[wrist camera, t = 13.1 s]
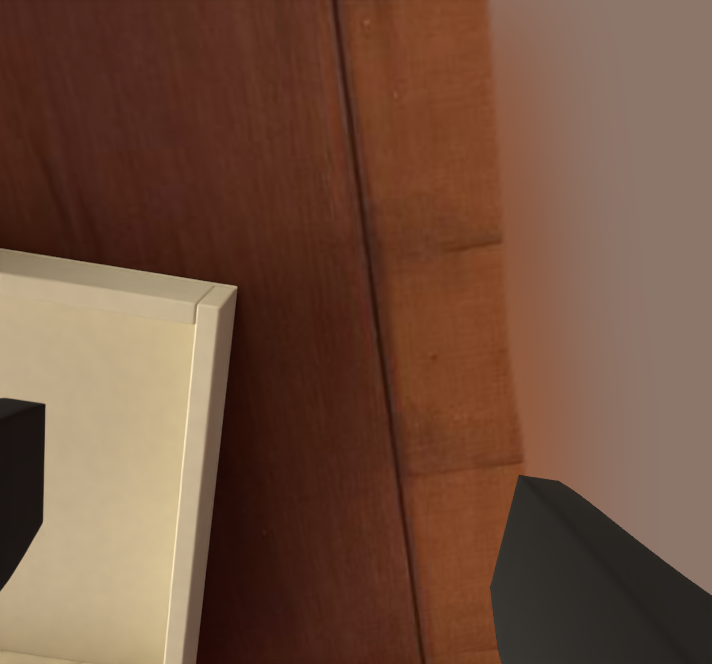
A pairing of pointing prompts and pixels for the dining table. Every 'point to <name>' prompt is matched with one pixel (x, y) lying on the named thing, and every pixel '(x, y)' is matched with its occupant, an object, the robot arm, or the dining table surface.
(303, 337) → the dining table surface
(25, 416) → the robot arm
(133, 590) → the cream wooden tray
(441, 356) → the dining table surface
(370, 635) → the dining table surface
